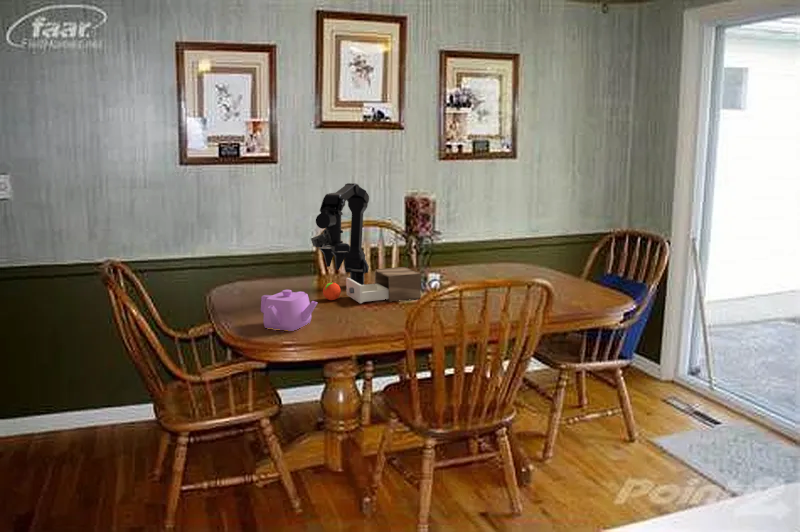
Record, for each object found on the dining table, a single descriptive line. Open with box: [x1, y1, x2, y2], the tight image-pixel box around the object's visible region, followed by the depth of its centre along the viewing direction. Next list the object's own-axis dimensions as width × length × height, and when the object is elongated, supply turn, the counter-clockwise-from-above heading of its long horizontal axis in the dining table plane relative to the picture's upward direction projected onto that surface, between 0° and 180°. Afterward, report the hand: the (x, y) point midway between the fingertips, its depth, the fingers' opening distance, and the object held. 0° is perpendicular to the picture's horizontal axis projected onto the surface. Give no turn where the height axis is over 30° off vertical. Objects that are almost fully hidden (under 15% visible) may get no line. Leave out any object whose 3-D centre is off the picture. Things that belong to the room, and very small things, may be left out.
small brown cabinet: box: [374, 266, 422, 303], centre depth 283 cm, size 15×13×10 cm
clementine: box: [322, 281, 342, 301], centre depth 277 cm, size 8×7×7 cm
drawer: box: [345, 277, 389, 304], centre depth 278 cm, size 15×14×7 cm
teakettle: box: [260, 289, 318, 332], centre depth 242 cm, size 17×17×12 cm
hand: (332, 268), depth 275 cm, fingers open, 9 cm apart
